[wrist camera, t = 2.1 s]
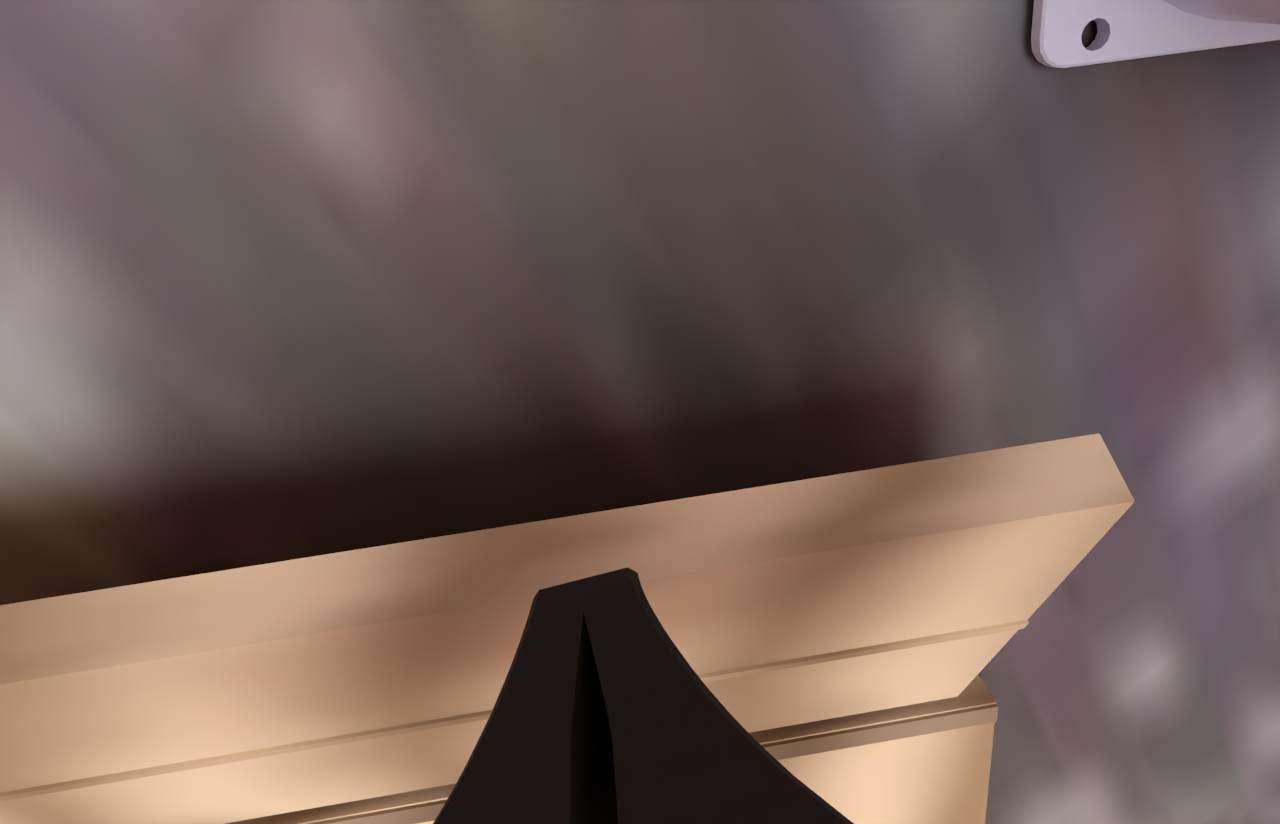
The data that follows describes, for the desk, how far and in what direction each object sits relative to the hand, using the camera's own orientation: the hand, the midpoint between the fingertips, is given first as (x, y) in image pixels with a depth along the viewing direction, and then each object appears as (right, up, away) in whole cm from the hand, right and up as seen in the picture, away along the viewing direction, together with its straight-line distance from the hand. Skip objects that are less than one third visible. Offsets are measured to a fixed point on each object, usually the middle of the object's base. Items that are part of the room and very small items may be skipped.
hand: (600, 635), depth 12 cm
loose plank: (-3, -2, +5) cm, 6 cm away
